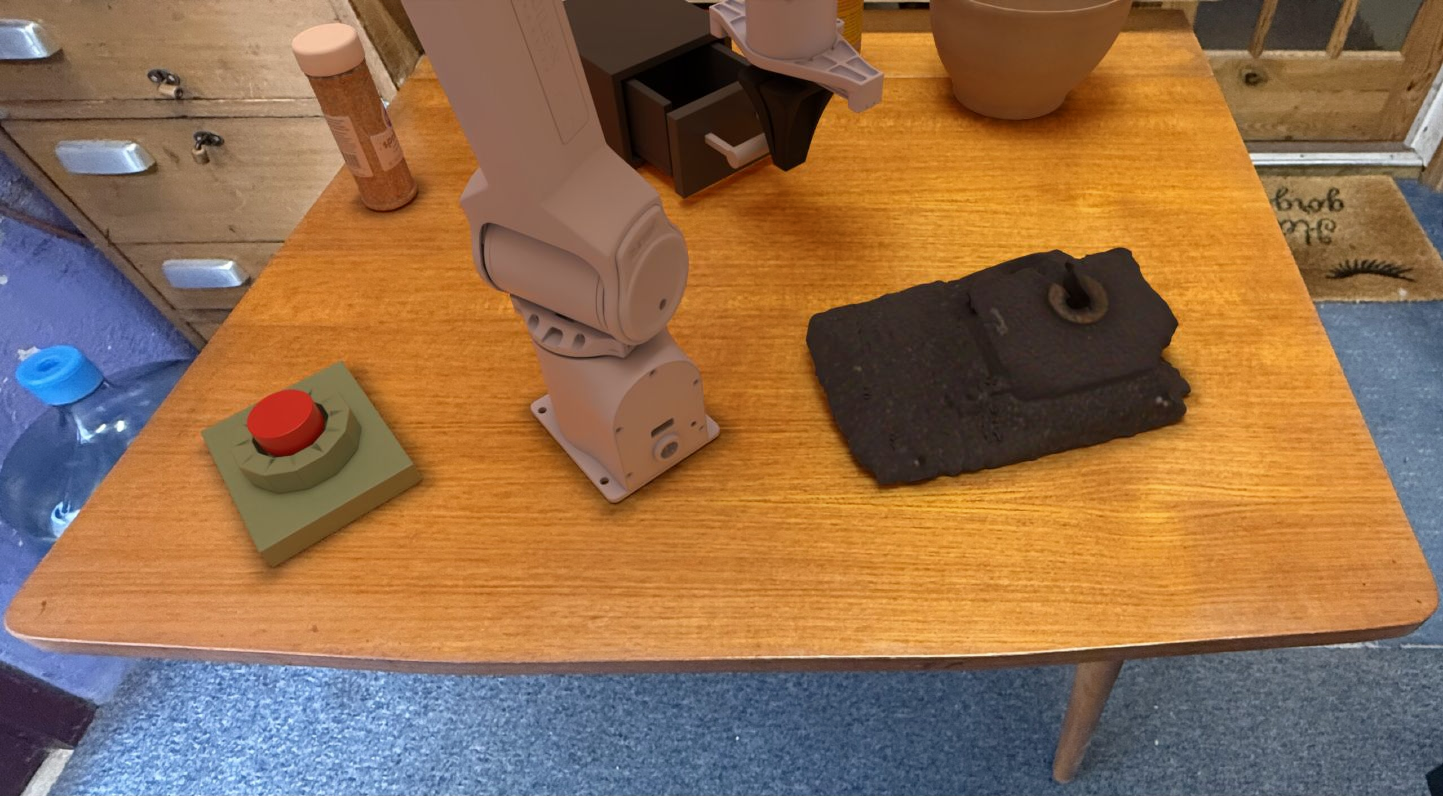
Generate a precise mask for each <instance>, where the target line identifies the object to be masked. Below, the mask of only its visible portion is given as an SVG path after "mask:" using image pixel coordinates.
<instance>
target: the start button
mask: <svg viewBox="0 0 1443 796" xmlns="http://www.w3.org/2000/svg"><path fill="white" fill-rule="evenodd" d="M281 390H282V391H281ZM281 390H279V391H275V392H273V393H271V394H269V395H267V396H265V397H264V398H262V399H260V400H259V401H258V402H256V403H257V404H256V403H255V404H256V405H255V406H254V407H253V409H252V410H251V411H250V413H249V415H248V418H247V428H248V430H249V432H250V433H251V434H252V436H253V437H254V438H255V440H256V441H257V442H258V444H259V445H260V446H261V447H262V449H263V450H264V451H265V452H266V453H268V454H270V455H273V456H278V457H284V456H291V455H294V454H296V453H298V452H300V451H301V450H303V449H305V448H307V447H309V446H311V445H313V444H314V442H315V441H316V440H317V439H318V438H319V437H320V436H321V434H322V433H323V431H324V428H325V419H324V417H323V415H322V413H321V412H320V410H319V409H318V407H317V406H316V404H315V403H314V401H313V400H312V398H311V397H310V395H308V394H307V393H305V392H303V391H301V390H295V389H289V390H283V389H281Z"/></svg>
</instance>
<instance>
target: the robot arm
mask: <svg viewBox="0 0 1443 796" xmlns="http://www.w3.org/2000/svg"><path fill="white" fill-rule="evenodd" d="M562 1H563V0H400V2H401V5H402V7H403V9H404V11H405V13H406V15H407V18H408V19H409V21H410V23H411V25H412V28H413V30H414V32H415V34H416V36H417V38H418V40H419V42H420V44H421V47H422V49H423V50H424V52H425V55H426V56H427V59H428V62H429V63H430V65H431V68H432V70H433V71H434V74H435V75H436V78H437V80H438V82H439V84H440V86H441V88H442V91H443V93H444V94H445V96H446V98H447V101H448V103H449V105H450V108H451V109H452V111H453V113H454V116H455V117H456V119H457V122H458V124H459V126H460V128H461V130H462V132H463V134H464V137H465V138H466V141H467V142H468V145H469V146H470V149H471V151H472V153H473V156H474V157H475V159H476V162H477V163H478V168H477V169H475V171H474V173H473V174H472V175H471V177H470V178H469V179H468V182H467V183H466V185H465V187H464V189H463V192H462V193H461V195H460V196H459V199H458V203H459V205H460V207H461V209H462V211H463V212H464V215H465V217H466V219H467V222H468V225H469V230H470V234H471V235H470V236H471V253H472V259H473V265H474V267H475V270H476V273H477V274H478V276H479V278H480V279H481V281H482V282H483V283H484V284H485V285H487V286H488V287H489V288H490V289H492V290H494V291H498V292H500V293H505V294H509V298H510V301H511V304H512V307H513V310H514V313H516V314H517V315H519V316H521V317H522V319H523V320H524V322H525V325H526V328H527V331H528V334H529V338H530V340H531V343H532V347H533V349H534V350H533V351H534V353H535V356H536V359H537V362H538V365H539V368H540V372H541V374H542V377H543V381H544V383H545V387H546V390H547V394H545V395H543V396H542V397H540V398H539V399H536V400H534V402H532V403H531V404H530V406H529V407H530V411H531V413H532V415H533V416H534V417H535V418H536V419H537V420H538V422H539V423H540V424H541V425H542V426H543V428H544V429H545V430H546V431H547V432H548V433H549V434H550V436H551V437H552V438H553V439H554V441H556V443H557V444H558V445H559V446H560V447H561V448H562V449H563V451H564V452H565V453H566V454H567V455H568V456H569V457H570V458H571V460H572V461H573V462H574V463H575V464H576V465H577V467H578V468H579V469H580V471H582V472H583V474H584V475H585V477H587V478H588V479H589V480H590V481H591V483H592V484H593V485H594V486H595V488H597V489H598V491H599V492H600V493H601V494H602V495H603V497H605V499H606V500H607V501H608V502H609V503H612V504H614V503H620V502H621V501H622V500H624V499H625V498H627V497H628V496H630V495H631V494H633V493H635V492H636V491H637V490H639V489H640V488H642V487H644V486H645V485H646V484H648V483H649V482H651V481H653V480H654V479H656V478H657V477H659V476H660V475H662V474H664V473H665V472H666V471H667V470H669V469H671V468H672V467H675V465H676V464H678V463H680V462H681V461H683V460H684V459H686V458H687V457H689V456H690V455H692V454H694V453H695V452H697V451H698V450H700V449H701V448H702V447H704V446H705V445H707V444H709V443H710V442H711V441H713V440H714V439H716V438H717V437H718V436H719V435H720V433H721V431H720V425H719V424H718V423H717V422H716V421H715V420H714V419H713V418H712V417H711V416H709V415H708V414H707V412H706V403H705V395H704V385H703V377H702V373H701V370H700V368H699V367H698V366H697V364H696V363H695V362H694V360H693V359H692V358H690V356H689V355H687V353H685V351H684V350H683V349H682V348H681V347H680V346H679V345H678V343H677V341H676V340H675V339H674V337H673V335H672V334H671V332H670V330H669V328H668V324H669V323H670V321H671V320H672V319H673V317H674V315H675V314H676V312H677V310H678V308H679V306H680V304H681V302H682V299H683V297H684V294H685V291H686V289H687V284H688V279H689V272H690V258H689V251H688V246H687V242H686V237H685V236H684V234H683V231H682V230H681V228H680V227H679V226H678V225H676V224H675V223H674V222H673V221H672V220H671V219H670V218H669V217H668V216H667V214H666V211H665V208H664V205H663V200H662V196H661V193H659V191H658V190H657V189H656V188H655V187H654V186H653V184H651V183H650V182H649V181H648V180H647V179H646V178H645V177H643V176H642V175H641V173H639V172H638V171H636V169H635V170H634V169H633V168H632V167H631V166H630V165H629V164H627V163H626V162H625V161H624V160H623V159H622V158H621V157H619V156H618V155H617V154H616V153H615V152H614V151H613V150H612V149H611V148H610V147H609V146H608V145H607V144H606V141H605V138H604V135H603V132H602V128H601V125H600V122H599V119H598V115H597V112H596V109H595V106H594V102H593V99H592V96H591V93H590V89H589V86H588V83H587V80H586V76H585V73H584V70H583V67H582V63H581V60H580V57H579V54H578V50H577V47H576V44H575V41H574V37H573V34H572V31H571V28H570V24H569V21H568V18H567V15H566V11H565V8H564V5H563V2H562ZM837 4H838V0H744V2H743V1H740V0H722V1H720V2H717V3H715V4H713V5H710V6H709V7H708V8H709V9H708V12H709V13H710V28H711V34H712V35H714V36H716V37H717V38H724V37H726V36H729V37H731V39H732V42H733V43H734V44H735V45H736V47H737V49H739V51H740V52H741V53H742V55H743V56H744V57H746V58H747V60H748V61H749V62H751V63H752V65H749V66H747V67H745V68H743V69H741V70H740V71H739V73H738V79H739V83H740V85H741V86H742V88H743V89H744V91H745V92H746V94H747V95H748V97H749V99H750V100H751V102H752V104H753V106H754V108H755V110H756V113H757V115H758V117H759V120H760V122H761V125H762V128H763V131H764V134H765V138H766V141H767V145H768V148H769V152H770V155H769V156H770V158H771V161H772V163H773V164H772V165H774V166H775V167H777V168H778V169H780V170H781V171H783V172H785V173H787V172H789V171H790V170H793V169H795V168H797V167H798V166H801V165H802V164H805V163H806V161H807V158H808V155H809V151H810V148H811V144H812V140H813V137H814V135H815V132H816V129H817V128H818V127H817V126H818V124H819V121H820V120H821V117H822V115H823V113H824V111H825V110H826V108H827V106H828V104H829V103H830V101H831V99H832V98H833V96H834V94H835V95H837V96H838V97H841V98H843V99H845V100H847V108H848V110H850V111H852V112H854V113H856V114H861V113H863V112H865V111H867V110H869V109H871V108H873V107H875V106H876V105H878V104H880V103H882V98H883V89H884V77H885V73H884V72H883V71H881V70H880V69H878V68H876V67H874V66H873V65H871V64H870V63H868V62H867V60H866V59H864V57H862V55H861V54H860V55H859V53H858V52H857V51H856V50H855V49H854V48H853V47H852V46H851V45H850V44H849V43H848V42H847V41H846V40H845V39H844V38H843V37H842V36H841V34H842V33H844V21H843V20H841V19H839V18H837ZM604 482H607V483H606V484H603V483H604Z"/></svg>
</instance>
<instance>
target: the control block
mask: <svg viewBox="0 0 1443 796" xmlns="http://www.w3.org/2000/svg"><path fill="white" fill-rule="evenodd" d="M289 389H295V390H301V391H303V392H305V393H307V394H308V395H310V397H311V398H312V400H313V401H314V403H315V404H316V406H317V407H318V409H319V410H320V412H321V413H322V415H323V417H324V419H325V428H324V431H323V433H322V434H321V436H320V437H319V438H318V439H317V440H316V441H315V442H314V444H313V445H311V446H309V447H307V448H305V449H303V450H301V451H300V452H298V453H296V454H294V455H291V456H284V457H278V456H273V455H270V454H268V453H266V452H265V451H264V450H263V449H262V447H261V446H260V445H259V444H258V442H257V441H256V440H255V438H254V437H253V436H252V434H251V433H250V432H249V430H248V428H247V418H248V415H249V413H250V411H251V410H252V409H253V407H254V406H255V405H256V404H257V403H258V402H256V403H254V404H252V405H249V406H247V407H246V408H244V409H242V410H239V411H238V412H236V413H234V414H231V415H230V416H228V417H226V418H224V419H222V420H220V421H219V422H215V423H214V424H212V425H210V426H208V427H207V428H204V429H202V430H201V431H200V435H201V437H202V439H203V441H204V443H205V445H206V447H207V449H208V451H209V453H210V455H211V458H212V460H213V461H214V463H215V465H216V467H217V469H218V472H219V473H220V476H221V478H222V480H223V482H224V484H225V486H226V488H227V491H228V492H229V494H230V496H231V499H232V500H233V503H234V504H235V506H236V508H237V511H238V513H239V516H240V517H241V519H242V521H243V522H244V525H245V527H246V529H247V532H248V533H249V536H250V538H251V540H252V541H253V544H254V546H255V548H256V550H257V552H258V553H259V554H260V556H261V557H262V558H263V559H264V560H265V561H266V562H267V564H269V566H270V567H272V568H276V567H278V566H279V565H281V564H282V563H284V562H286V561H287V560H289V559H291V558H293V557H294V556H296V555H298V554H300V553H301V552H303V551H304V550H306V549H308V548H310V547H311V546H313V545H315V544H316V543H318V542H320V541H322V540H323V539H325V538H327V537H328V536H330V535H332V534H334V533H335V532H338V531H339V530H340V529H342V528H344V527H346V526H347V525H349V524H351V523H353V522H354V521H356V520H357V519H359V518H361V517H362V516H364V515H366V514H368V513H369V512H371V511H373V510H375V509H376V508H379V506H382V505H383V504H385V503H386V502H388V501H389V500H391V499H393V498H395V497H396V496H398V495H400V494H402V493H404V492H405V491H407V490H409V489H410V488H412V487H414V486H415V485H418V483H421V482H422V481H423V477H422V475H421V474H420V472H419V470H418V469H417V467H416V465H415V463H414V462H413V460H412V458H411V457H410V456H409V454H408V453H407V451H406V450H405V449H404V447H403V446H402V444H401V442H400V441H399V440H398V439H397V437H396V436H395V435H394V433H393V431H392V430H391V428H390V427H389V426H388V424H387V423H386V421H385V420H384V419H383V417H382V416H381V414H380V413H379V411H378V410H377V409H376V407H375V406H374V405H373V404H374V403H372V401H371V400H370V398H369V397H368V396H367V394H366V393H365V391H364V390H363V388H362V387H361V385H360V384H359V382H358V381H357V380H356V378H355V376H353V374H352V373H351V371H350V370H349V368H348V367H347V365H346V364H345V362H344V361H343V360H338V361H337V362H335V363H333V364H331V365H329V366H327V367H325V368H323V369H321V370H318V371H316V372H315V373H313V374H311V375H309V376H307V377H305V378H303V379H301V380H299V381H297V382H295V383H293V384H292V385H289V386H288V387H285V388H284V389H281V390H280V391H282V390H289Z"/></svg>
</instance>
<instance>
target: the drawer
mask: <svg viewBox="0 0 1443 796" xmlns="http://www.w3.org/2000/svg"><path fill="white" fill-rule="evenodd" d="M749 65H752V63H751V62H749V61H748V60H747V58H746V57H745V56H744V55H743V54H740V53H739V52H737V51H734V50H733V49H732V50H731V49H729V48H727V47H725V46H724V45H722V44H720V43H718V42H716V41H712V42H710V43H708V44H705V45H703V46H701V47H698V48H696V49H694V50H691V51H689V52H687V53H684V54H682V55H680V56H677V57H675V58H673V59H670V60H668V61H666V62H663V63H661V64H659V65H656V66H654V67H652V68H650V69H647V70H645V71H643V72H640V73H638V74H636V75H633V76H631V77H629V78H626V79H624V80H622V81H621V86H622V92H623V99H624V105H625V111H626V118H627V124H628V131H629V137H630V144H631V149H632V150H633V151H634V152H636V153H637V154H639V155H640V156H641V157H643V158H644V159H645V160H647V161H648V162H649V163H650V164H651V165H652V166H654V167H655V168H657V169H658V170H659V171H660V172H661V173H663V174H665V175H666V176H668V177H669V178H670V179H673V185H674V192H675V194H676V195H677V196H679V197H680V198H681V199H682V200H685V199H687V198H689V197H691V196H694V195H695V194H698V193H699V192H701V191H703V190H705V189H707V188H709V187H711V186H713V185H715V184H717V183H719V182H721V181H722V180H724V179H726V178H729V177H731V176H732V175H734V174H737V173H738V172H741V171H742V170H744V169H746V168H748V167H750V166H752V165H753V164H755V163H758V162H760V161H761V160H764V159H765V158H768V157H769V156H771V155H770V152H769V148H768V145H767V141H766V138H765V134H764V131H763V128H762V125H761V122H760V120H759V117H758V115H757V113H756V110H755V108H754V106H753V104H752V102H751V100H750V99H749V97H748V95H747V94H746V92H745V91H744V89H743V88H742V86H741V85H740V83H739V79H738V73H739V71H740V70H741V69H743V68H745V67H747V66H749Z"/></svg>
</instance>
